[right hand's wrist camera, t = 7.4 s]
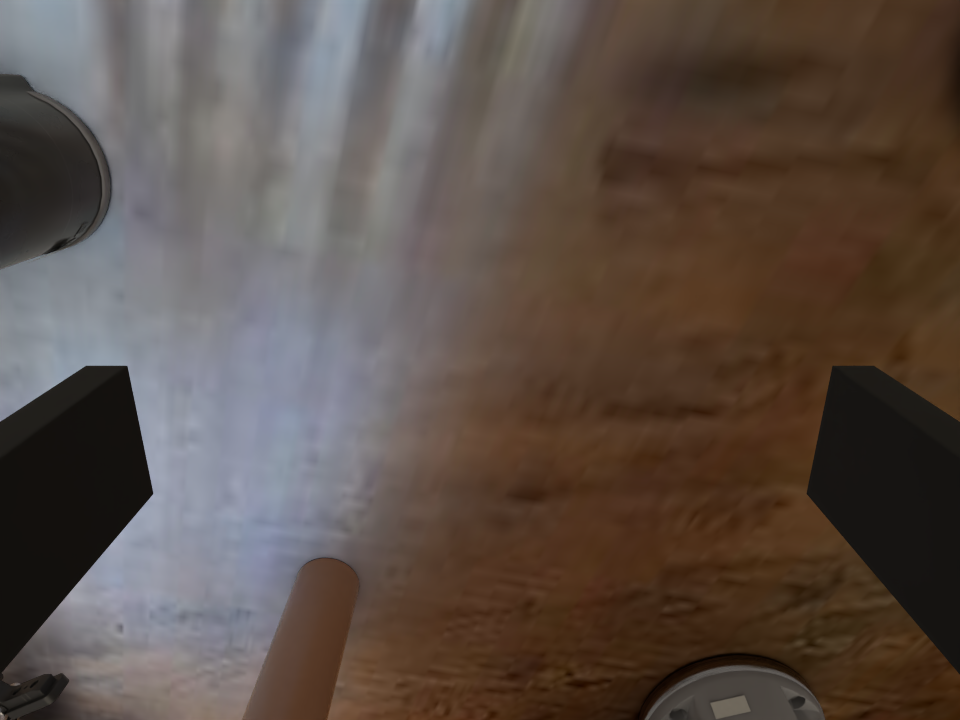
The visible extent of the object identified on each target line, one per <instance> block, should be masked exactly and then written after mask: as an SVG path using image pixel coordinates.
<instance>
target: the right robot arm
mask: <svg viewBox="0 0 960 720" xmlns="http://www.w3.org/2000/svg"><path fill="white" fill-rule="evenodd" d="M152 495H153V490H152V485H151V480H150V475H149V470H148V465H147V460H146V455H145V450H144V445H143V441H142V436H141V431H140V426H139V421H138V416H137V411H136V406H135V401H134V396H133V391H132V387H131V382H130V377H129V372H128V367H127V366H85V367H84V368H82V369H81V370H79V371H78V372H76V373H75V374H73V375H71V376H70V377H68V378H67V379H65V380H64V381H62V382H61V383H59V384H58V385H56V386H55V387H53V388H52V389H50V390H48V391H47V392H45V393H44V394H42V395H41V396H39V397H38V398H36V399H35V400H33V401H32V402H30V403H29V404H27V405H26V406H24V407H22V408H21V409H19V410H18V411H16V412H15V413H13V414H12V415H10V416H9V417H7V418H6V419H4V420H3V421H1V422H0V674H1V673H2V672H3V670H4V669H5V668H6V667H7V666H8V664H9V663H10V662H11V661H12V660H13V659H14V657H15V656H16V655H17V654H18V653H19V651H20V650H21V649H22V648H23V647H24V646H25V644H26V643H27V642H28V641H29V640H30V639H31V637H32V636H33V635H34V634H35V633H36V631H37V630H38V629H39V628H40V627H41V626H42V624H43V623H44V622H45V621H46V620H47V618H48V617H49V616H50V615H51V614H52V613H53V611H54V610H55V609H56V608H57V607H58V606H59V604H60V603H61V602H62V601H63V600H64V598H65V597H66V596H67V595H68V594H69V593H70V591H71V590H72V589H73V588H74V587H75V585H76V584H77V583H78V582H79V581H80V580H81V578H82V577H83V576H84V575H85V574H86V573H87V571H88V570H89V569H90V568H91V567H92V565H93V564H94V563H95V562H96V561H97V560H98V558H99V557H100V556H101V555H102V554H103V552H104V551H105V550H106V549H107V548H108V547H109V545H110V544H111V543H112V542H113V541H114V540H115V538H116V537H117V536H118V535H119V534H120V532H121V531H122V530H123V529H124V528H125V527H126V525H127V524H128V523H129V522H130V521H131V519H132V518H133V517H134V516H135V515H136V514H137V512H138V511H139V510H140V509H141V508H142V507H143V505H144V504H145V503H146V502H147V501H148V499H149V498H150V497H151V496H152ZM807 495H808V496H809V497H810V498H811V499H812V501H813V502H814V503H815V504H816V505H817V507H818V508H819V509H820V510H821V511H822V512H823V514H824V515H825V516H826V517H827V518H828V519H829V521H830V522H831V523H832V524H833V525H834V527H835V528H836V529H837V530H838V531H839V532H840V534H841V535H842V536H843V537H844V538H845V540H846V541H847V542H848V543H849V544H850V545H851V547H852V548H853V549H854V550H855V551H856V552H857V554H858V555H859V556H860V557H861V558H862V560H863V561H864V562H865V563H866V564H867V565H868V567H869V568H870V569H871V570H872V571H873V573H874V574H875V575H876V576H877V577H878V578H879V580H880V581H881V582H882V583H883V584H884V585H885V587H886V588H887V589H888V590H889V591H890V593H891V594H892V595H893V596H894V597H895V598H896V600H897V601H898V602H899V603H900V604H901V606H902V607H903V608H904V609H905V610H906V611H907V613H908V614H909V615H910V616H911V617H912V618H913V620H914V621H915V622H916V623H917V624H918V626H919V627H920V628H921V629H922V630H923V631H924V633H925V634H926V635H927V636H928V637H929V639H930V640H931V641H932V642H933V643H934V644H935V646H936V647H937V648H938V649H939V650H940V651H941V653H942V654H943V655H944V656H945V657H946V659H947V660H948V661H949V662H950V663H951V664H952V666H953V667H954V668H955V669H956V670H957V672H958V673H959V674H960V422H959V421H957V420H956V419H954V418H953V417H951V416H950V415H948V414H947V413H945V412H944V411H942V410H941V409H939V408H938V407H936V406H934V405H933V404H931V403H930V402H928V401H927V400H925V399H924V398H922V397H921V396H919V395H918V394H916V393H915V392H913V391H912V390H910V389H908V388H907V387H905V386H904V385H902V384H901V383H899V382H898V381H896V380H895V379H893V378H892V377H890V376H889V375H887V374H885V373H884V372H882V371H881V370H879V369H878V368H876V367H875V366H833V367H832V372H831V377H830V382H829V387H828V391H827V396H826V401H825V406H824V411H823V416H822V421H821V426H820V431H819V436H818V441H817V445H816V450H815V455H814V460H813V465H812V470H811V475H810V480H809V485H808V490H807ZM638 720H825V717H824V714H823V711H822V708H821V706H820V704H819V702H818V701H817V699H816V697H815V695H814V694H813V692H812V690H811V688H810V687H809V685H808V684H807V683H806V681H805V680H804V679H803V678H802V677H801V676H800V675H799V674H798V673H796V672H795V671H793V670H792V669H790V668H789V667H787V666H785V665H783V664H781V663H779V662H776V661H773V660H770V659H766V658H762V657H755V656H745V655H734V656H723V657H716V658H712V659H707V660H704V661H700V662H697V663H695V664H692V665H690V666H687V667H685V668H683V669H681V670H679V671H678V672H676V673H674V674H673V675H671V676H670V677H668V678H667V679H666V680H664V681H663V682H662V683H661V684H660V685H658V686H657V687H656V688H655V689H654V691H653V692H652V693H651V694H650V695H649V697H648V698H647V700H646V701H645V703H644V705H643V707H642V709H641V711H640V714H639V718H638Z"/></svg>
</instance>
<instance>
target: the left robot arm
mask: <svg viewBox="0 0 960 720" xmlns="http://www.w3.org/2000/svg"><path fill="white" fill-rule="evenodd" d="M109 199H110V177H109V171H108V167H107V164H106V160H105V158H104V155H103V153H102V150H101V148H100V147H99V145H98V143H97V141H96V139H95V138H94V136H93V135H92V133H91V132H90V131H89V129H88V128H87V127H86V126H85V125H84V123H83V122H82V121H81V120H80V119H79V118H78V117H77V116H76V115H75V114H73V113H72V112H71V111H70V110H69V109H67V108H66V107H65V106H63V105H62V104H60V103H58V102H57V101H55V100H53V99H51V98H49V97H47V96H45V95H43V94H40V93H37V92H34V91H33V90H32V88H31V87H30V86H29V85H28V83H27V82H26V80H25V79H24V78H23V77H22V76H21V75H13V74H0V269H3V268H6V267H9V266H12V265H15V264H17V263H20V262H23V261H26V260H29V259H32V258H34V257H37V256H40V255H43V254H48V253H51V252H54V251H57V252H58V250H59V251H60V250H63V249H65V248H68V247H71V246H73V245H76V244H78V243H80V242H82V241H83V240H85V239H86V238H88V237H89V236H90V235H91V234H92V233H93V232H94V231H95V230H96V229H97V228H98V226H99V225H100V224H101V222H102V220H103V218H104V216H105V214H106V211H107V208H108V205H109ZM54 253H55V252H54ZM51 254H53V253H51ZM49 255H50V254H49ZM46 256H47V255H46ZM44 257H45V256H44ZM41 258H42V257H41ZM39 259H40V258H39ZM36 260H37V259H36ZM33 261H34V260H33ZM28 263H29V262H28ZM2 679H3V674H2V673H1V674H0V720H19V719H20V717H22V716H24V715H27V714H29V713H31V712H34V711H36V710H39V709H41V708H44V707H46V706H48V705H50V704H52V703H53V702H54V701H55V700H56V699H57V698H58V696H59V695H60V694H61V692H62V691H63V689H64V688H65V687H66V685H67V684H68V682H69V680H68V678H67V677H66V676H65V675H64V674H63V673H61V674H58V675H56V676H53V675H52V674H44V675H42V676H39V677H38V678H34V679H32V680H30V681H27V682H25V683H22V684H20V683H12V684H11V685H8V684H6V683H5V682H3V681H1V680H2Z"/></svg>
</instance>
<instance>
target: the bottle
mask: <svg viewBox="0 0 960 720" xmlns="http://www.w3.org/2000/svg"><path fill="white" fill-rule="evenodd" d="M358 592H359V580H358V577H357V575H356V573H355V572H354V571H353V569H352V568H351V567H349V566H348V565H347V564H345V563H343V562H341V561H339V560H336V559H331V558H320V559H315V560H312V561H310V562H308V563H307V564H305V565H304V566H303V567H302V568H301V569H300V571H299V572H298V574H297V577H296V580H295V582H294V585H293V587H292V590H291V593H290V595H289V598H288V601H287V603H286V606H285V608H284V611H283V614H282V616H281V619H280V621H279V624H278V627H277V629H276V632H275V635H274V637H273V640H272V642H271V645H270V648H269V650H268V653H267V655H266V658H265V661H264V663H263V666H262V668H261V671H260V674H259V676H258V679H257V682H256V684H255V687H254V689H253V692H252V695H251V697H250V700H249V702H248V705H247V708H246V710H245V713H244V716H243V718H242V720H327V718H328V714H329V710H330V706H331V702H332V698H333V694H334V690H335V686H336V681H337V677H338V673H339V669H340V665H341V661H342V657H343V653H344V649H345V645H346V641H347V637H348V632H349V628H350V624H351V620H352V616H353V612H354V608H355V604H356V600H357V596H358Z"/></svg>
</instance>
